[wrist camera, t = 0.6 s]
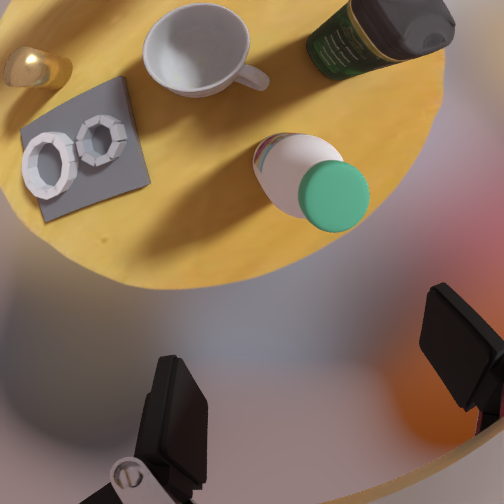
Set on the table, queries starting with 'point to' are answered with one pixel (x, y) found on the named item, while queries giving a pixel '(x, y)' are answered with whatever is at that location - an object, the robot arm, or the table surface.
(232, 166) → the table surface
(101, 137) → the collar board
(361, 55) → the coffee jar
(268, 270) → the table surface
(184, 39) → the teacup
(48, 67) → the gold cylindrical peg
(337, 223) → the milk bottle
